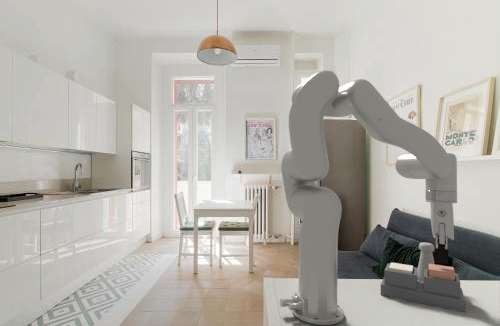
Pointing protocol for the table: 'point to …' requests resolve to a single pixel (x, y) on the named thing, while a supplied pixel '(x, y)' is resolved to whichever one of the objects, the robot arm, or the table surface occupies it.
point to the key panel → (423, 289)
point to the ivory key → (401, 268)
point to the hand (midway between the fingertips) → (441, 262)
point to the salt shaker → (425, 258)
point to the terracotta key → (441, 272)
